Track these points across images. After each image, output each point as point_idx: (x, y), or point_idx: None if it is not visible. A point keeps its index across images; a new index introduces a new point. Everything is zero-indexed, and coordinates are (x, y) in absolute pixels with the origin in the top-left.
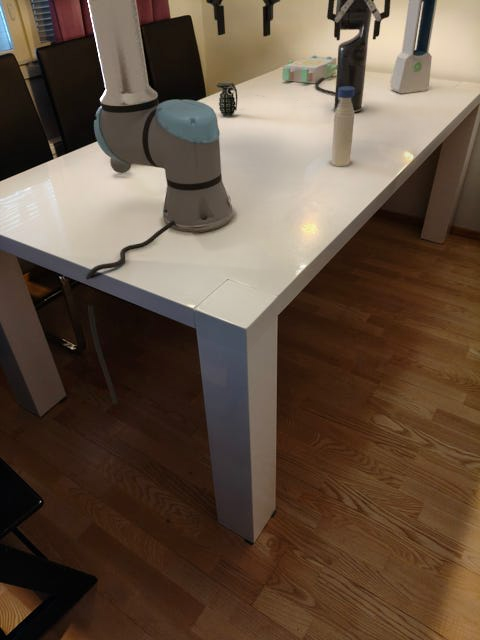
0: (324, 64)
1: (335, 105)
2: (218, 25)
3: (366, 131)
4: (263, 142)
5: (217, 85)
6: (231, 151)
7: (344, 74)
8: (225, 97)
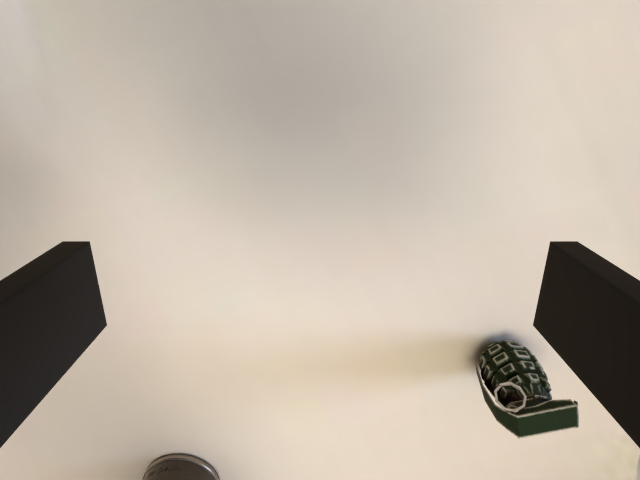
0: None
1: (204, 477)
2: (616, 275)
3: None
4: (269, 158)
5: (573, 404)
6: (327, 35)
7: None
8: (521, 376)
